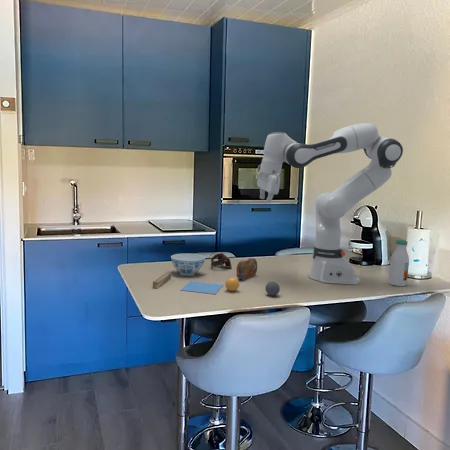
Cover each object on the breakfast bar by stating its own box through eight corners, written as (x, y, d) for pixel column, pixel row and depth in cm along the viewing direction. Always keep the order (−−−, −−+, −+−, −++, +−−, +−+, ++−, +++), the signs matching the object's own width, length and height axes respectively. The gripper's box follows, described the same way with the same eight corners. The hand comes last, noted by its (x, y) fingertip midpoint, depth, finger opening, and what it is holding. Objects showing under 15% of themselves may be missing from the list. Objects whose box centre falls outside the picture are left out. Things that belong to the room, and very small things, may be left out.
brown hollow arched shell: (234, 271, 213) (227, 257, 210) (215, 279, 214) (208, 265, 211) (231, 260, 224) (225, 246, 221) (213, 267, 225) (207, 253, 222)
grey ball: (279, 294, 178) (280, 280, 178) (278, 298, 173) (279, 284, 172) (266, 292, 179) (266, 279, 179) (264, 296, 174) (265, 282, 173)
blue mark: (223, 285, 187) (223, 284, 187) (215, 294, 174) (215, 293, 174) (190, 281, 190) (190, 281, 190) (180, 290, 176) (180, 289, 176)
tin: (240, 281, 194) (242, 262, 193) (234, 280, 196) (235, 261, 195) (257, 275, 207) (258, 257, 206) (251, 274, 208) (252, 256, 207)
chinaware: (180, 268, 212) (181, 252, 211) (209, 272, 207) (210, 256, 206) (164, 275, 199) (164, 257, 197) (195, 280, 193) (195, 262, 192)
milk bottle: (397, 287, 198) (402, 242, 196) (384, 282, 205) (388, 239, 202) (410, 286, 202) (415, 241, 199) (396, 281, 209) (401, 238, 206)
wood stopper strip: (170, 278, 193) (171, 273, 192) (157, 288, 177) (157, 282, 177) (166, 278, 193) (166, 272, 193) (152, 288, 178) (152, 281, 177)
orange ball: (239, 289, 181) (240, 276, 181) (237, 293, 176) (238, 279, 175) (226, 288, 183) (227, 275, 182) (223, 292, 177) (224, 278, 176)
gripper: (285, 173, 187) (279, 206, 190) (270, 167, 206) (265, 197, 209) (271, 171, 185) (265, 204, 188) (257, 165, 204) (251, 195, 207)
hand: (265, 200), depth 199 cm, fingers open, 8 cm apart
